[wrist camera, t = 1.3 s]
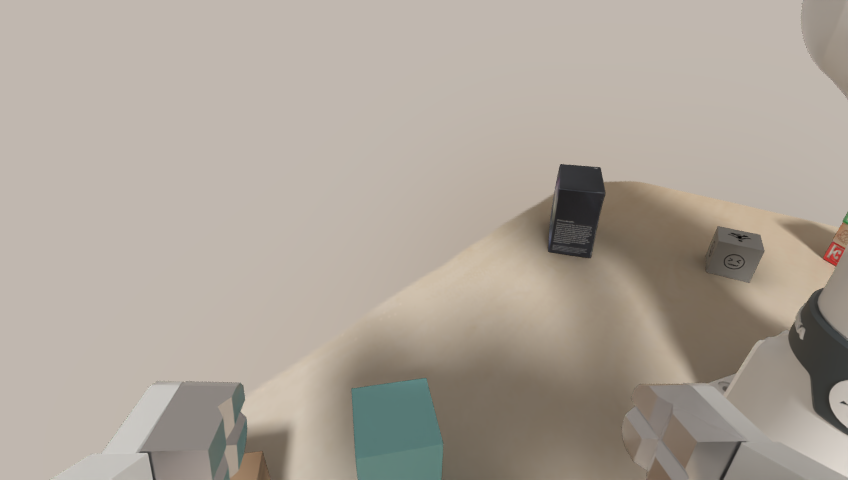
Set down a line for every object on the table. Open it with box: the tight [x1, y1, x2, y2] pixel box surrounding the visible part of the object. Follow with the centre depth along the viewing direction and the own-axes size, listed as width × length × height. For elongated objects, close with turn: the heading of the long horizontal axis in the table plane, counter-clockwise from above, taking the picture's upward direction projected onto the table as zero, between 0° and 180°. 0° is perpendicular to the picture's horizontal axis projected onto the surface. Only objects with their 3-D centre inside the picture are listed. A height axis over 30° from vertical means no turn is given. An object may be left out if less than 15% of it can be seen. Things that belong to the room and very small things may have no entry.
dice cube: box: [706, 226, 764, 283], centre depth 58 cm, size 5×5×5 cm
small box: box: [548, 164, 605, 258], centre depth 64 cm, size 11×6×10 cm, turn 164°
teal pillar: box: [352, 378, 443, 480], centre depth 28 cm, size 5×5×10 cm
